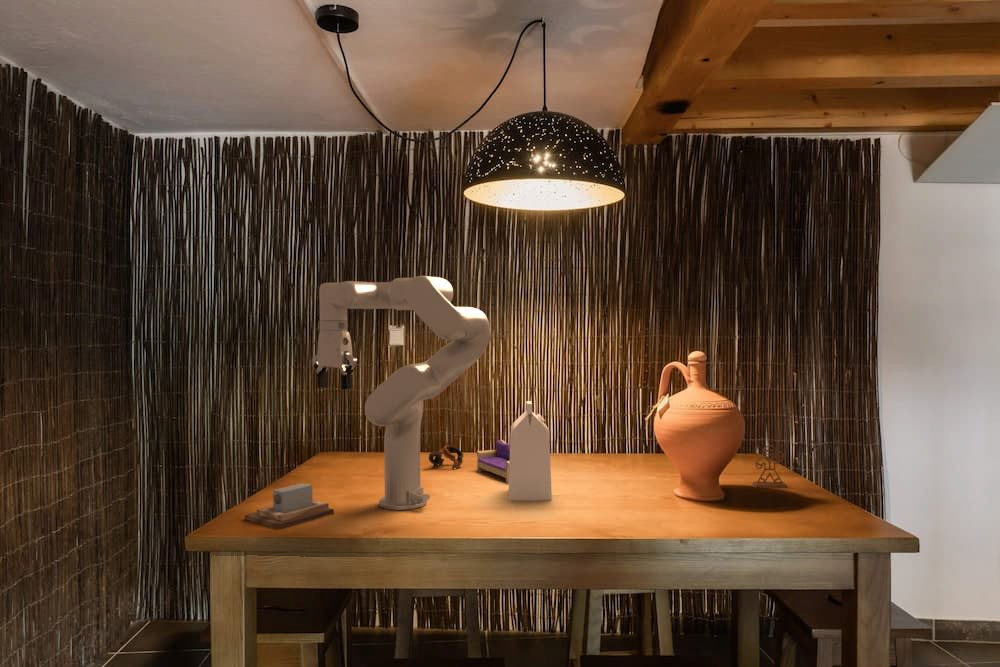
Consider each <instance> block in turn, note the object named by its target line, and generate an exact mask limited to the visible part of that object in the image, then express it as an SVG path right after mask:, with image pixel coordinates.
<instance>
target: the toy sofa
mask: <svg viewBox="0 0 1000 667" xmlns="http://www.w3.org/2000/svg"><path fill="white" fill-rule="evenodd" d="M495 446H496V449H489V450H476V457H477V458H476V459H477V463H476V464H477V465H476V466H477V468H476V469H477V470H476V471H477V472H478V471H484V472H490V473H492V474H495V475H498V476H500V477H503V478H505V483H506V484H509V462H510V443H507V442H506V441H505V440H503V439H498V440H496V441H495Z"/></svg>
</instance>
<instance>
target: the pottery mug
mask: <svg viewBox="0 0 1000 667" xmlns="http://www.w3.org/2000/svg"><path fill="white" fill-rule="evenodd" d="M455 454H456V455H457V456H456V455H455ZM442 457H445V458H446V459H449V461H452V462H453V463H452V464H453V465H452V466H451V468H452V469H453V470H455V469H454V468H456V469H458V467H460V466H461V465H463V458H464V453H463V452H462V451H461V450H460V449H459V448H457V447H455V446H453V445H448V444H446V445H444V447H443V448H440V449H439V450H437V451H436V450H432V451H431V452H430V453H429V454H428V460H429V463H431V464H432V467H433V466H435V467H436V468H439V465H438V464H442V465H443V463H444V461H445V459H444V458H442ZM456 457H457V458H456Z"/></svg>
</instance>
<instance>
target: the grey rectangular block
mask: <svg viewBox="0 0 1000 667" xmlns="http://www.w3.org/2000/svg"><path fill="white" fill-rule="evenodd" d="M312 500H313V484H308V483H303V482H302V483H297V484H292V485H288V486H284V487H280V488H276V489H273V490H272V506H273V511H276V512H280V513H287V512H291V511H295V510H298V509H302V508H306V507H310V506H313V502H312Z"/></svg>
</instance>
